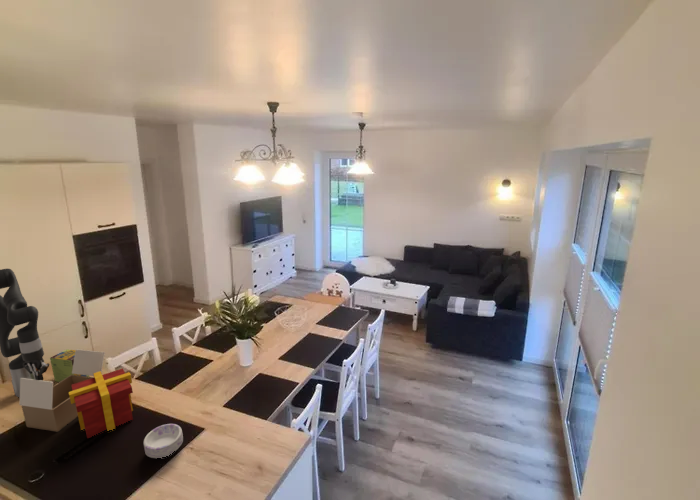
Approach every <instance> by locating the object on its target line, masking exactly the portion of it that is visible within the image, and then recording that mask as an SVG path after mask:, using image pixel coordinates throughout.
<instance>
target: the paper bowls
mask: <svg viewBox="0 0 700 500" xmlns="http://www.w3.org/2000/svg"><path fill="white" fill-rule="evenodd" d="M183 435H184V434H183V430H182V427H181V426H180V425H178V424H176V423H167V424H166V423H165V424H162V425H159V426H157V427H155V428H153V429H151V431H150V432H148V433H147V434H146V436H145V437H144V439H143V448H144V452H145V455H146V456H147V457H149V458H151V459H157V458H161V459H163V458H162V457H166V456H168V457H170V456H171V455H173V454H174V453H175V452H176V451H177V450H178V449H179V448H180V447H181V446H182V444H183V442H184V436H183ZM174 451H175V452H174ZM173 452H174V453H173ZM172 453H173V454H172ZM170 454H171V455H170ZM169 455H170V456H169ZM166 458H167V457H166Z"/></svg>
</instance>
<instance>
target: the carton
mask: <svg viewBox="0 0 700 500" xmlns="http://www.w3.org/2000/svg"><path fill="white" fill-rule="evenodd" d="M91 378H94V376H89V377H85V376H77V375H70V376H69V377H67V378H65V379H64V380H62V381H60V382H57V383H55V384H53V402H52V410H50V409H43V408H36V407H29V406H22V405H20V406H21V409H22V414H23V417H24V421H25V425H26V427H27V428H30V429H31V428H32V429H39V430H43V431H44V430H46V431H51V432H56V433H58V432H60V431H61V430H63V429H64V428H65V427H66V426H68V425H69V424H70V423H72V422H73V421H75V419H77V418H78V414H77V409H76V404H75V403H73V404H71V401H70V397H69V392H70V391H73V390H72V386H71V385H72V384H75V383H78V382H82V381H85V380H88V379H91ZM67 424H68V425H67Z"/></svg>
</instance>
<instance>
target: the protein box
mask: <svg viewBox="0 0 700 500" xmlns="http://www.w3.org/2000/svg"><path fill="white" fill-rule="evenodd" d="M75 351H76V349H64V350H63V351H60V352H59V353H57V354H55V355H52V356H50V357H49V360H50V364H51V369H52V375H53V379H54V382H57V383H59V382H60V381H62V380H64V379H65V378H67V377H69V376H70V375H77V376H85V377H90V376H89V375H81V374H72V369H73V363H74V357H75Z"/></svg>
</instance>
